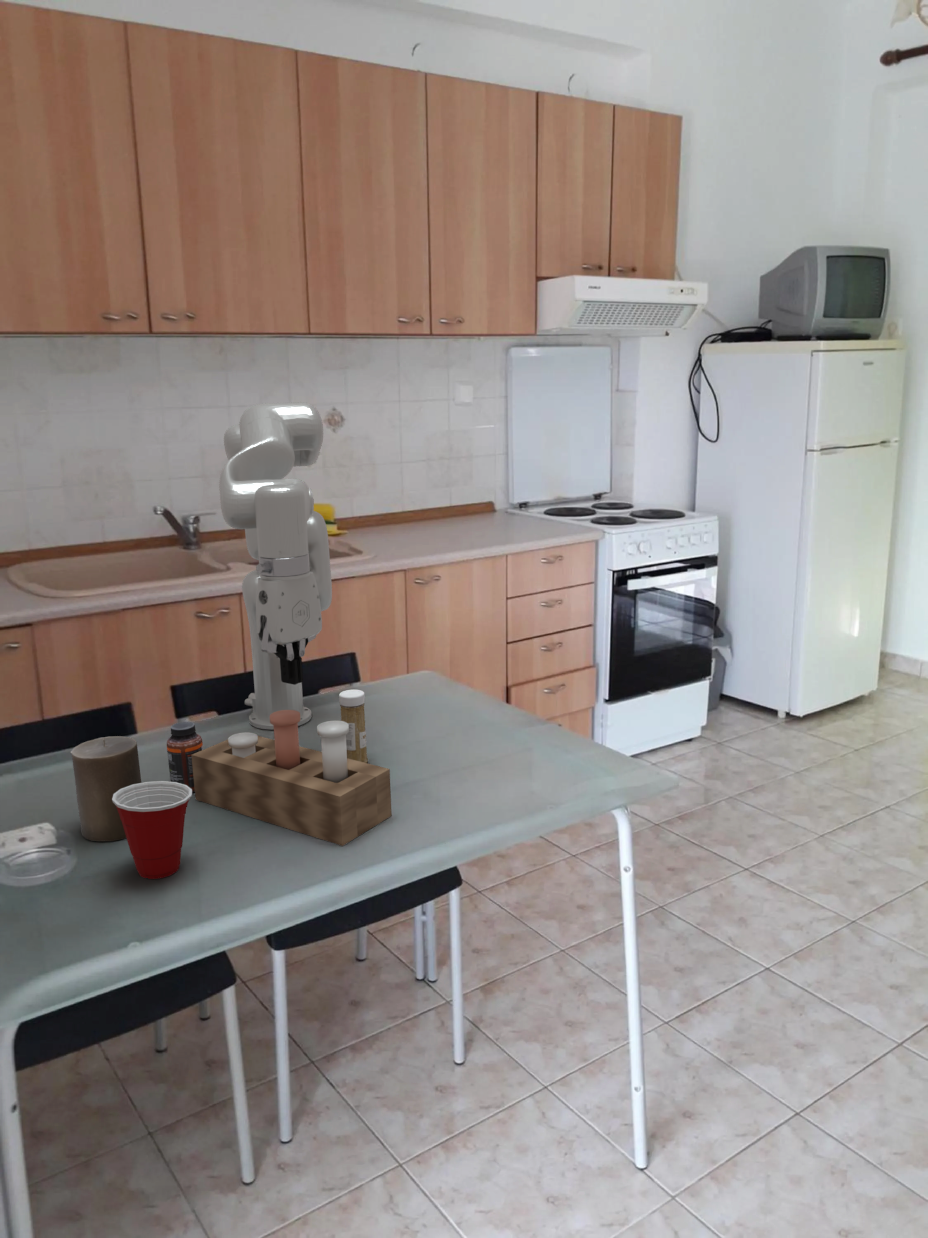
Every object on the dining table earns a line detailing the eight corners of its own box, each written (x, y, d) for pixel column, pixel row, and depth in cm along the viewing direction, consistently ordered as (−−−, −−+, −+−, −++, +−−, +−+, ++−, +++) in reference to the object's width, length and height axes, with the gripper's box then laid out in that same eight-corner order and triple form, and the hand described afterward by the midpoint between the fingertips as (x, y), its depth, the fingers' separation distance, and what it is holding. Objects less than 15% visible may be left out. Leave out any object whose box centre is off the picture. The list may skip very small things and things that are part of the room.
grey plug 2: (314, 788, 152) (310, 727, 150) (334, 777, 156) (331, 718, 154) (337, 795, 150) (334, 733, 147) (357, 784, 154) (354, 724, 151)
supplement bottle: (213, 782, 171) (207, 720, 168) (195, 795, 165) (189, 732, 162) (182, 778, 172) (177, 718, 170) (164, 792, 167) (157, 730, 164)
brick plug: (267, 775, 158) (263, 716, 155) (288, 765, 162) (284, 708, 159) (289, 781, 155) (285, 722, 153) (310, 771, 159) (306, 713, 157)
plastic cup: (214, 866, 141) (207, 789, 138) (147, 896, 133) (138, 815, 130) (172, 844, 148) (165, 770, 145) (106, 871, 140) (97, 794, 138)
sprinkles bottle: (372, 764, 177) (369, 693, 174) (349, 770, 175) (346, 698, 171) (360, 756, 181) (357, 686, 177) (338, 762, 178) (334, 691, 175)
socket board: (195, 799, 164) (191, 754, 162) (247, 775, 173) (244, 732, 171) (342, 846, 146) (340, 796, 145) (391, 815, 156) (389, 769, 154)
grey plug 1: (226, 795, 165) (221, 739, 162) (247, 785, 168) (243, 730, 166) (247, 801, 162) (242, 744, 160) (267, 791, 166) (263, 735, 163)
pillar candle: (152, 832, 152) (142, 741, 149) (86, 848, 147) (74, 754, 144) (139, 810, 160) (129, 723, 157) (76, 824, 156) (65, 735, 152)
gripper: (265, 576, 141) (274, 698, 145) (336, 560, 153) (342, 674, 157) (230, 572, 145) (239, 691, 149) (301, 557, 157) (308, 667, 161)
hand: (292, 682), depth 153 cm, fingers closed
